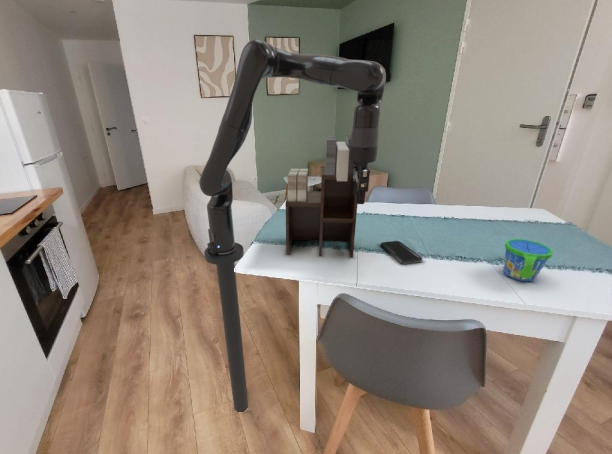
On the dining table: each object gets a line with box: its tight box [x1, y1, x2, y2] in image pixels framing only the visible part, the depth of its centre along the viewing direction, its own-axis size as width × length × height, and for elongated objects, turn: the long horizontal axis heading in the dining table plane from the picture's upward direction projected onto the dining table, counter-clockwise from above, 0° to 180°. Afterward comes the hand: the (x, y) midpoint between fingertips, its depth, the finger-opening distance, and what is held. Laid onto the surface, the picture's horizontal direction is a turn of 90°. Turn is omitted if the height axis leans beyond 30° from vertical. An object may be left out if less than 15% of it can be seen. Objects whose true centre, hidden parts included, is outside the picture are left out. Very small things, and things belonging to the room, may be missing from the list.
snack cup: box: [503, 238, 554, 282], centre depth 87 cm, size 16×10×10 cm
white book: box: [335, 141, 349, 181], centre depth 93 cm, size 20×3×9 cm, turn 169°
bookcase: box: [285, 135, 358, 259], centre depth 104 cm, size 14×24×41 cm, turn 79°
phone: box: [380, 240, 423, 265], centre depth 105 cm, size 8×1×15 cm
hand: (358, 198), depth 88 cm, fingers open, 8 cm apart
